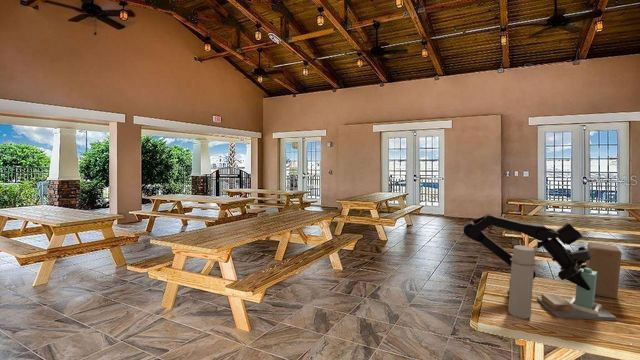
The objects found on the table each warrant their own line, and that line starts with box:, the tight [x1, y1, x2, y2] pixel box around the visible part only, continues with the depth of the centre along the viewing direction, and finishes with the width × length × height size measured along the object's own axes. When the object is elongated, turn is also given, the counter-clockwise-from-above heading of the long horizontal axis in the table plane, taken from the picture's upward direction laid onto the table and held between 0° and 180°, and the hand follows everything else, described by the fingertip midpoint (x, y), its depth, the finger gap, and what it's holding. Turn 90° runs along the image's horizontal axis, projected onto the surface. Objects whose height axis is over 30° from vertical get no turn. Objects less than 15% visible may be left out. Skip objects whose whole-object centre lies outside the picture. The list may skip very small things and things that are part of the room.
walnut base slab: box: [541, 293, 572, 312], centre depth 130 cm, size 6×9×2 cm, turn 174°
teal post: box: [574, 268, 597, 309], centre depth 128 cm, size 5×5×14 cm
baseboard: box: [536, 296, 617, 322], centre depth 129 cm, size 20×14×2 cm
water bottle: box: [507, 245, 537, 320], centre depth 125 cm, size 9×8×25 cm
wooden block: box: [585, 242, 623, 299], centre depth 144 cm, size 10×10×20 cm
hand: (590, 287), depth 127 cm, fingers closed on teal post, 5 cm apart
